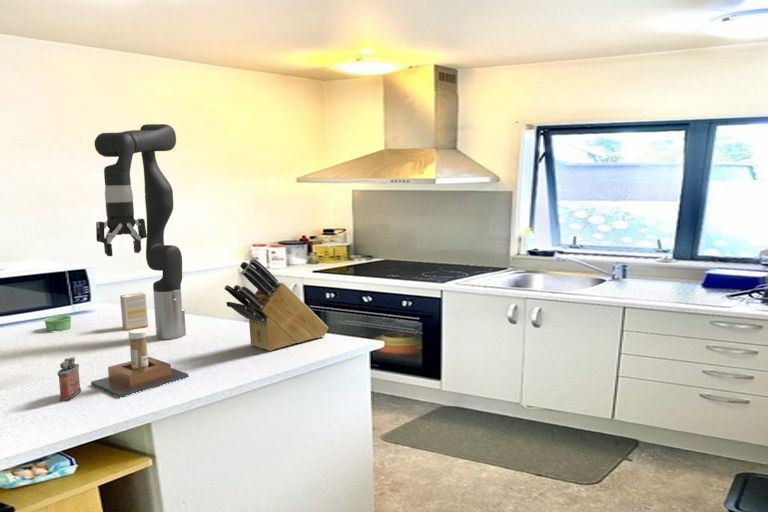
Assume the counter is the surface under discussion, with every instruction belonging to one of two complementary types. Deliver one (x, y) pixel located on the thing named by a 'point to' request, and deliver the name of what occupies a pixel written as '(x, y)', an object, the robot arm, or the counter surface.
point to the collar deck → (129, 391)
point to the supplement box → (134, 311)
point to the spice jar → (138, 349)
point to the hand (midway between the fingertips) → (123, 254)
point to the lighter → (69, 379)
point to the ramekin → (58, 323)
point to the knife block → (273, 310)
